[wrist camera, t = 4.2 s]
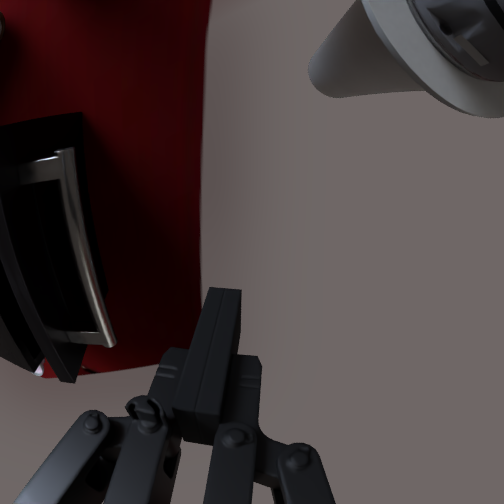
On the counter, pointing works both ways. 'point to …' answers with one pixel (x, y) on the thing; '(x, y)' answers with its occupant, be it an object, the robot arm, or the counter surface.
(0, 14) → the tin
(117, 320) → the counter surface
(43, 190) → the oven door
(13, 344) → the oven
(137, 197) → the counter surface
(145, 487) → the robot arm
